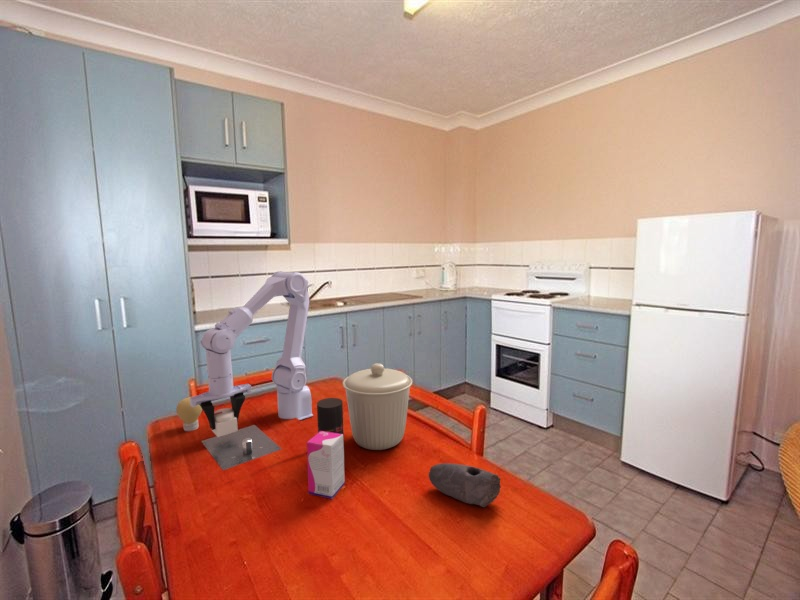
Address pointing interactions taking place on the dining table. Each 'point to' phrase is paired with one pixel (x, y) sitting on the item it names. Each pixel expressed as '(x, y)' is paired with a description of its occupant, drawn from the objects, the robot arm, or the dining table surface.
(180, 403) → the light bulb
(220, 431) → the knob
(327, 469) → the supplement box
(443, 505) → the dining table surface
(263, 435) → the panel
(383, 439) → the canister
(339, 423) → the deodorant
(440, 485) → the perforated stone tool
